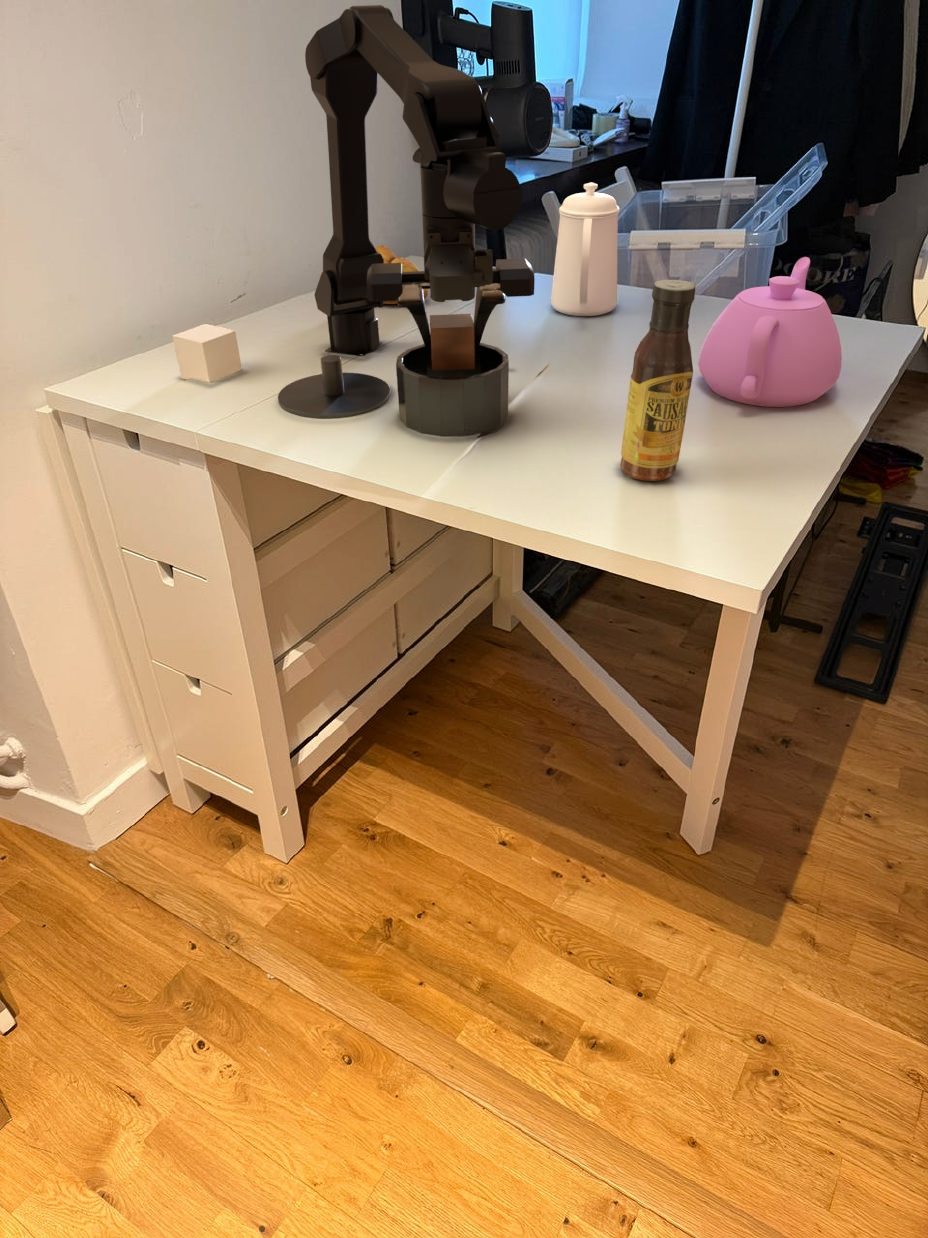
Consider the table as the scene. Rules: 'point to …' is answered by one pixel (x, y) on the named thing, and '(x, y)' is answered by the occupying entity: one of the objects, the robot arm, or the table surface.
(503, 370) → the pot
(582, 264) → the coffeepot
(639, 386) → the sauce bottle
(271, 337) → the table surface
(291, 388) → the lid
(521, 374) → the table surface
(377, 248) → the bread roll
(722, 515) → the table surface
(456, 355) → the block
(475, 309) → the robot arm
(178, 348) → the beige cube
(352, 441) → the table surface
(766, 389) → the teapot
